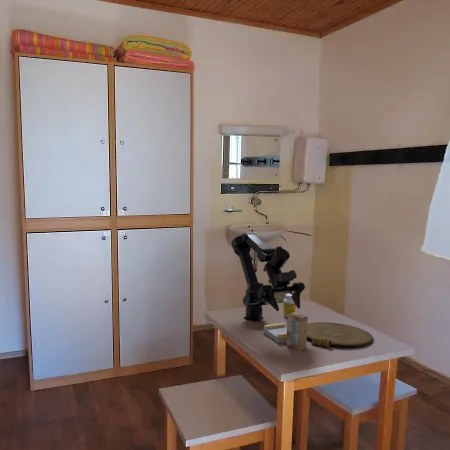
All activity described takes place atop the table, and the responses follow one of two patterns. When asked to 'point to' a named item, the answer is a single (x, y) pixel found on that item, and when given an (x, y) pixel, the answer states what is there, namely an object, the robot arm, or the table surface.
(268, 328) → the rail board
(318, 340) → the decorative disc
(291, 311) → the supplement bottle
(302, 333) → the wooden box
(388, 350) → the table surface
